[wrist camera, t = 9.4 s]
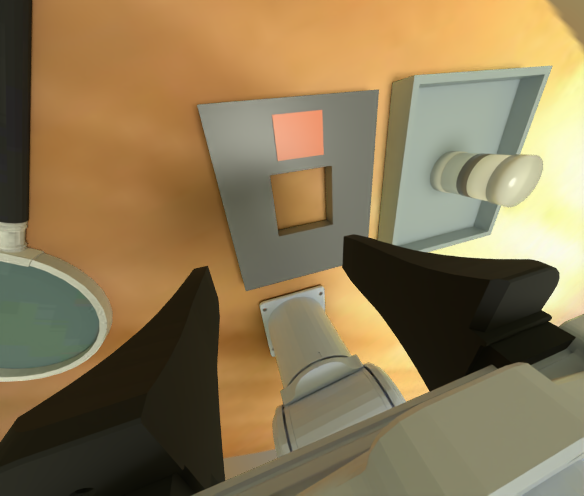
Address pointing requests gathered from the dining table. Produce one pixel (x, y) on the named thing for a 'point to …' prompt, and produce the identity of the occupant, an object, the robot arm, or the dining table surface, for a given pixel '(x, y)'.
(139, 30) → the dining table surface
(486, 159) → the fuse
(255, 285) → the fuse holder
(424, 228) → the parts tray
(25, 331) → the magnifying glass
